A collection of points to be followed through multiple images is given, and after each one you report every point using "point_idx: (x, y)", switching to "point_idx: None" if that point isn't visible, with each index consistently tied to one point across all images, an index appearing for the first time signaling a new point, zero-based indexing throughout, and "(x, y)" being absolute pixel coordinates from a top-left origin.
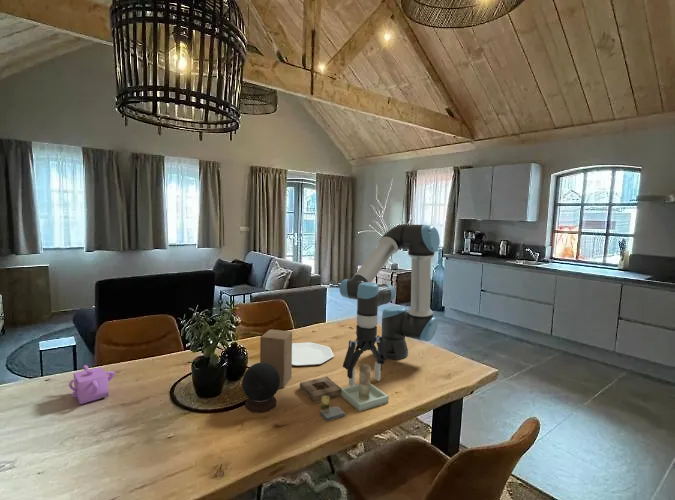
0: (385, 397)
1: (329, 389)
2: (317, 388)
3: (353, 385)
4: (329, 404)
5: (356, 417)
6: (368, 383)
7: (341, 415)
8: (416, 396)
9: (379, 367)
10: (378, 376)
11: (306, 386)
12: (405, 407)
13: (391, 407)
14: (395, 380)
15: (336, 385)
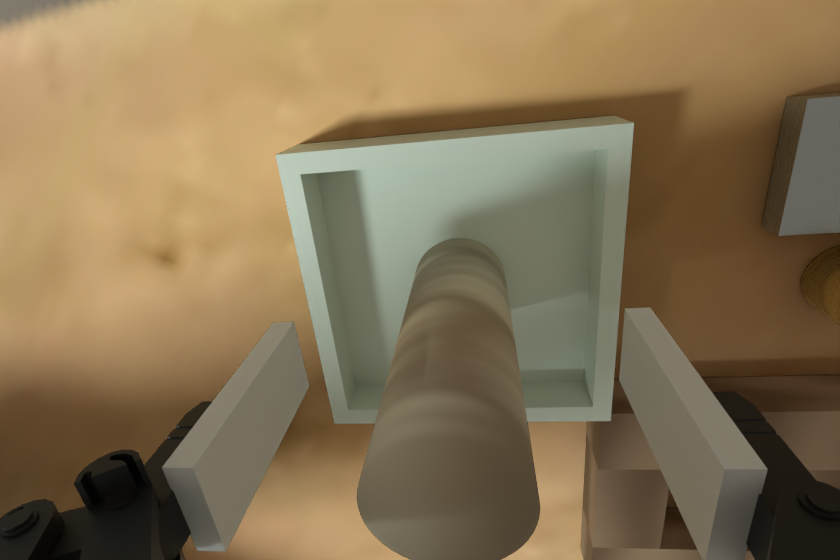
0: (313, 151)
1: None
2: None
3: (649, 320)
4: (835, 275)
5: (704, 30)
6: (438, 305)
7: (837, 93)
8: (23, 135)
9: (212, 428)
10: (275, 353)
11: None
12: (184, 5)
13: (307, 59)
14: (109, 394)
15: (608, 471)
